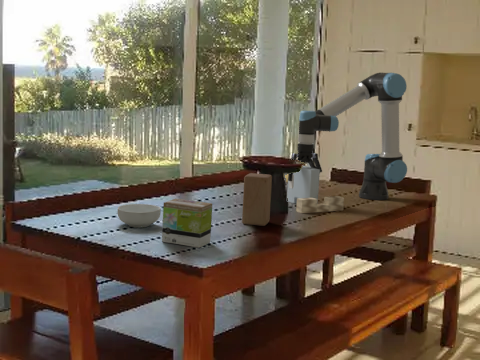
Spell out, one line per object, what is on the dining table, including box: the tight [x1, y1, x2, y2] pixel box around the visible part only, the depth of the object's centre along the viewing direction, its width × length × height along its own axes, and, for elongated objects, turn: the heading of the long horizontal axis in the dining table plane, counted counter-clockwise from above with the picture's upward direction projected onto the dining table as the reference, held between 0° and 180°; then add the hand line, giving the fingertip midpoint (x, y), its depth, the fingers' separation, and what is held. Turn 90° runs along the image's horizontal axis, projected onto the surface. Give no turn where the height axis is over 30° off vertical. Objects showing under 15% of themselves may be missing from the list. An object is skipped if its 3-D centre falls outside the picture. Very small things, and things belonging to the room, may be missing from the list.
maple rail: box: [295, 195, 345, 214], centre depth 336 cm, size 24×4×6 cm, turn 122°
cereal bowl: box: [117, 203, 161, 228], centre depth 285 cm, size 17×17×7 cm
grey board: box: [286, 165, 321, 204], centre depth 350 cm, size 18×5×18 cm, turn 31°
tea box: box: [161, 198, 213, 249], centre depth 260 cm, size 15×10×15 cm, turn 69°
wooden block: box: [241, 172, 273, 227], centre depth 300 cm, size 10×10×20 cm
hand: (302, 187), depth 350 cm, fingers open, 13 cm apart
